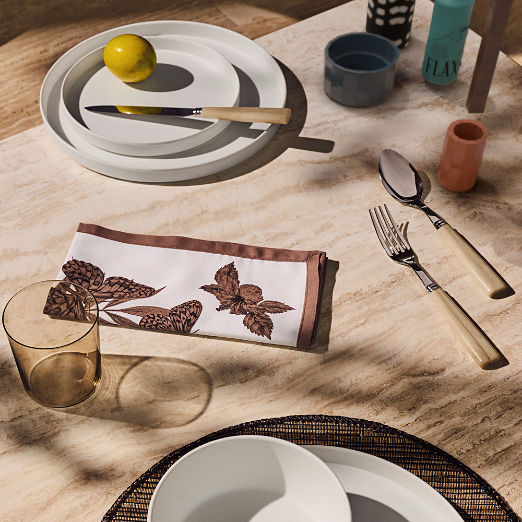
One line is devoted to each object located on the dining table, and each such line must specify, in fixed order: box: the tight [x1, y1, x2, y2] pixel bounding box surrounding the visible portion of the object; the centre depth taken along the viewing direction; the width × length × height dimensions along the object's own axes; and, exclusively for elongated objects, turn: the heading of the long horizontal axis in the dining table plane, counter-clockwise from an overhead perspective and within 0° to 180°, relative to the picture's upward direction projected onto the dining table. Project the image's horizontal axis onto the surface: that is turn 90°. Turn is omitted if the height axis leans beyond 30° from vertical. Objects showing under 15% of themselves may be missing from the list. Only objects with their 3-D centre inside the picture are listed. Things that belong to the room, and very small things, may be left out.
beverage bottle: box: [420, 0, 476, 86], centre depth 111 cm, size 6×7×20 cm
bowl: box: [322, 31, 401, 107], centre depth 115 cm, size 12×12×7 cm
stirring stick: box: [465, 0, 514, 115], centre depth 83 cm, size 2×2×24 cm
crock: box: [436, 118, 490, 193], centre depth 98 cm, size 6×6×9 cm
